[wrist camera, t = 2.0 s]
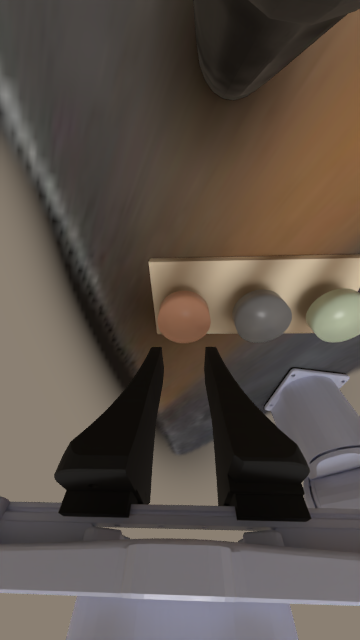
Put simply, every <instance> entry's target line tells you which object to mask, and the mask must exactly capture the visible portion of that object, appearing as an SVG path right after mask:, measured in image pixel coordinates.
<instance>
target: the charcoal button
mask: <svg viewBox="0 0 360 640" xmlns="http://www.w3.org/2000/svg"><path fill="white" fill-rule="evenodd" d="M232 318H233V321H234V324H235V327H236V330H237V332H238V334H239V335H240V336H241V337H242V338H243V339H244V340H246V341H249V342H254V343H262V342H267V341H270V340H273V339H275V338H277V337H279V336H280V335H281V334H283V333H284V332H285V331H286V330H287V328H288V327H289V325H290V323H291V320H292V312H291V309H290V308H289V306H288V305H287V304H286V303H285V301H284V300H283V299H282V298H281V297H280V295H278V294H277V293H276V292H274V291H271V290H265V289H262V290H255V291H252V292H250V293H247V294H246V295H244V296H243V297H242V298H240V299H239V300H238V301H237V303H236V304H235V306H234V308H233V312H232Z"/></svg>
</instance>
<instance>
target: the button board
mask: <svg viewBox="0 0 360 640" xmlns="http://www.w3.org/2000/svg"><path fill="white" fill-rule="evenodd" d="M149 270H150V278H151V286H152V295H153V303H154V311H155V319H156V328H157V334H162V333H161V332H160V330H159V328H158V324H157V320H158V314H159V309H160V305H161V303H162V301H163V300H164V299H165V298H166V297H167V296H168V295H170V294H171V293H174V292H177V291H191V292H194V293H197V294H198V295H200V296H201V297H202V298H203V299H204V300H205V301H206V303H207V305H208V308H209V314H210V319H211V324H210V328H209V330H208V332H207V333H206V334H238V332H237V330H236V327H235V324H234V321H233V318H232V312H233V308H234V306H235V304H236V303H237V301H238V300H239V299H240V298H242V297H243V296H244V295H246V294H247V293H250V292H252V291H255V290H262V289H265V290H271V291H274V292H276V293H277V294H278V295H280V297H281V298H282V299H283V300H284V301H285V303H286V304H287V305H288V306H289V308H290V309H291V312H292V320H291V323H290V325H289V327H288V328H287V330H286V331H285V332H284V333H314V332H313V330H312V329H311V328H310V327H309V326H308V324H307V322H306V313H307V311H308V309H309V307H310V306H311V304H312V303H313V302H314V301H315V300H316V299H318V298H319V297H320V296H322V295H323V294H325V293H327V292H329V291H332V290H336V289H341V288H349V289H353V290H355V291H357V292H358V290H359V288H360V254H349V255H298V256H247V257H196V258H150V260H149Z"/></svg>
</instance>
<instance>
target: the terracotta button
mask: <svg viewBox="0 0 360 640" xmlns="http://www.w3.org/2000/svg"><path fill="white" fill-rule="evenodd" d="M157 324H158V328H159V330H160V332H161V333H162V334H163V335H164V336H165V337H166V338H168V339H169V340H171V341H174V342H177V343H191V342H194V341H197V340H199V339H201V338H202V337H203V336H204V335H205V334H206V333H207V332H208V330H209V328H210V324H211V319H210V314H209V308H208V305H207V303H206V301H205V300H204V299H203V298H202V297H201V296H200V295H198V294H197V293H194V292H191V291H177V292H174V293H171V294H170V295H168V296H167V297H166V298H165V299H164V300H163V301H162V303H161V305H160V309H159V314H158V320H157Z"/></svg>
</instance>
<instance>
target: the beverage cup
mask: <svg viewBox="0 0 360 640" xmlns="http://www.w3.org/2000/svg"><path fill="white" fill-rule="evenodd" d="M193 3H194V19H195V31H196V42H197V51H198V55H199V64H200V67H201V70H202V73H203V76H204V79H205V81H206V82H207V84H208V85H209V87H210V88H211V90H212V91H213V92H214V93H216V94H217V95H219V96H220V97H221V98H223V99H229V100H237V99H240V98H244V97H246V96H248V95H249V94H250V93H252V92H254V91H255V90H257V89H258V88H259V87H261V86H262V85H263V84H265V83H266V82H267V81H269V80H270V79H271V78H272V77H273V76H275V75H276V74H277V73H278V72H279V71H280V70H282V69H283V68H284V67H285V66H286V65H288V64H289V63H290V62H291V61H292V60H294V59H295V58H296V57H297V56H298V55H299V54H301V53H302V52H303V51H304V50H305V49H307V48H308V47H309V46H310V45H311V44H313V43H314V42H315V41H316V40H317V39H318V38H320V37H321V36H322V35H323V34H324V33H326V32H327V31H328V30H329V29H330V28H331V27H333V26H334V25H335V24H336V23H337V22H339V21H340V20H341V19H342V18H343V17H345V16H346V15H347V14H348V13H351V12H354V11H356V10H358V9H360V0H193Z"/></svg>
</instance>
